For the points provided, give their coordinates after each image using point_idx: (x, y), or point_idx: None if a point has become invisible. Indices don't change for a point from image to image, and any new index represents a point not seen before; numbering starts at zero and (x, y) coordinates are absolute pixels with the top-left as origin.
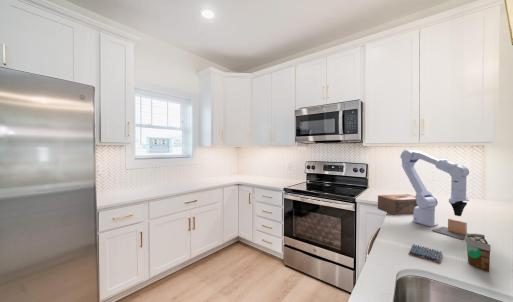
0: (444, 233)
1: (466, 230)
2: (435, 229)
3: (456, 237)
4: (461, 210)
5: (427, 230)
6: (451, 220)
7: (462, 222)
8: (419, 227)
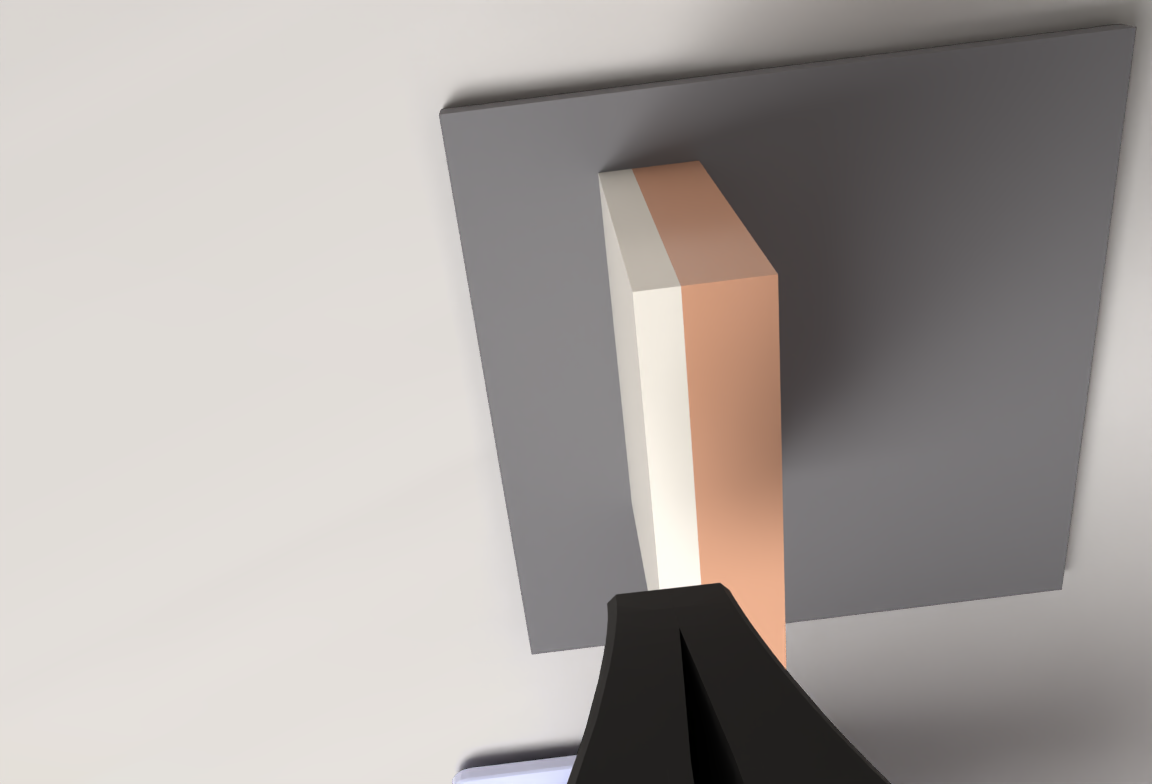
0: (1068, 385)
1: (635, 200)
2: (941, 592)
3: (1118, 135)
4: (788, 762)
5: (1091, 621)
6: (780, 609)
7: (774, 356)
8: (1030, 758)
